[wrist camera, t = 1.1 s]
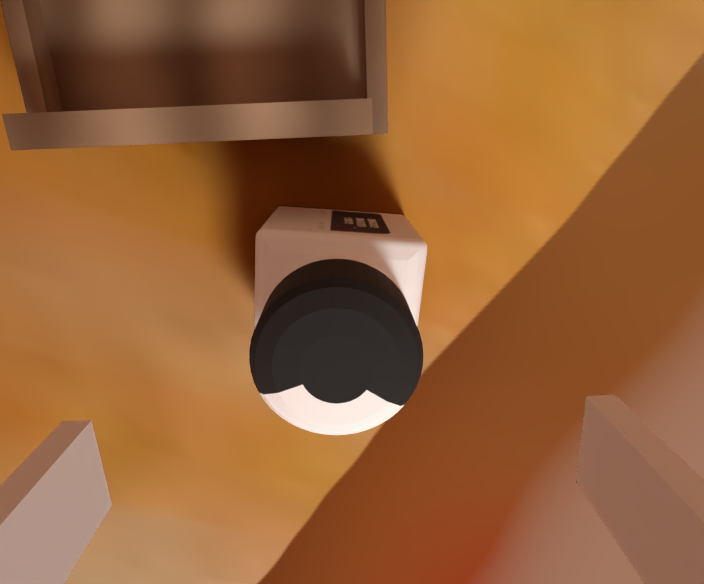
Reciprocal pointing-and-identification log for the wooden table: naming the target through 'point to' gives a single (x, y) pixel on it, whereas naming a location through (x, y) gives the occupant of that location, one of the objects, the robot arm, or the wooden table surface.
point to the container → (337, 317)
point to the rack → (195, 70)
